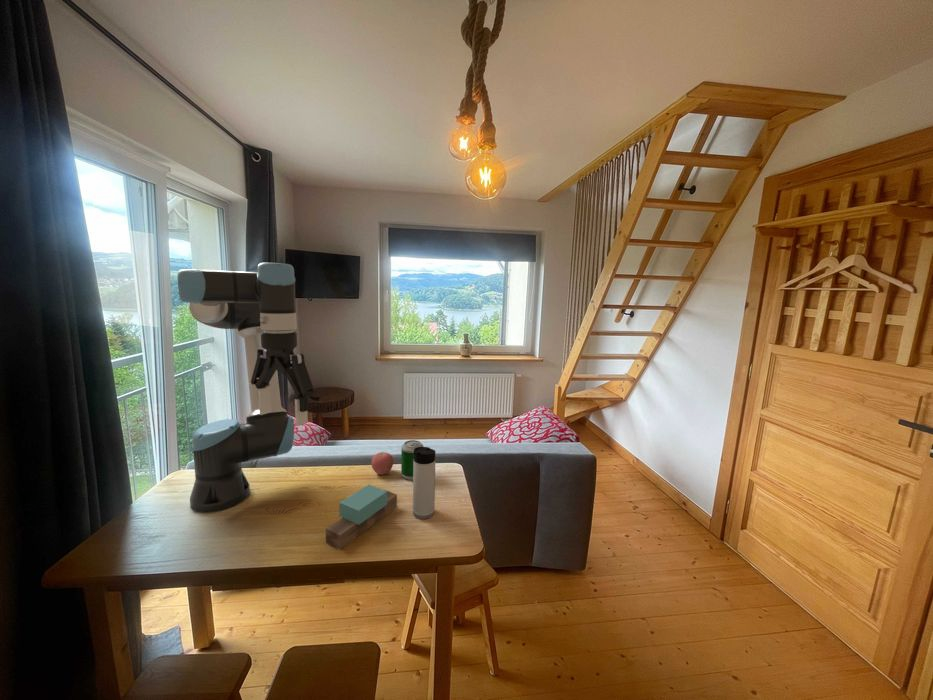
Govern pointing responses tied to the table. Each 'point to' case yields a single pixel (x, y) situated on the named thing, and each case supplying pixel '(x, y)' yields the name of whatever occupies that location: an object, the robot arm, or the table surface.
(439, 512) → the table surface
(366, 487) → the teal footed block
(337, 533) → the rail
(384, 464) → the apple
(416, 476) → the travel mug
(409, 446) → the soda can
